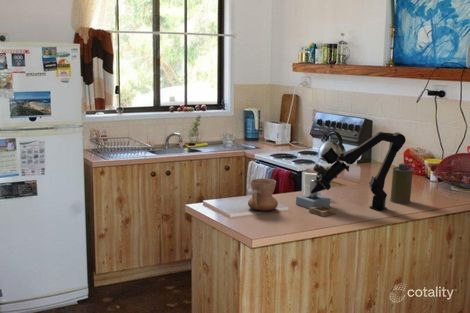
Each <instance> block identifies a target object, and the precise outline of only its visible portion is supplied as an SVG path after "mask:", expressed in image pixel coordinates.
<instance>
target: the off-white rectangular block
mask: <svg viewBox="0 0 470 313" xmlns="http://www.w3.org/2000/svg"><path fill="white" fill-rule="evenodd" d="M316 175H317V173H316V172H315V173H313V172H305V173H304V183H303V184H304V185H303V186H304V187H303V195H308V194H310V180H311V179H316ZM317 176H318V175H317ZM318 195H320V196H322V191H319V192H318Z"/></svg>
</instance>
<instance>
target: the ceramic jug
mask: <svg viewBox="0 0 470 313" xmlns="http://www.w3.org/2000/svg"><path fill="white" fill-rule="evenodd" d="M276 185H277V181H276V180H275V179H272V178H271V179H270V178H267V177H265V178H263V177H261V178H253V179H252V180H250V186H251V190H252V192H251V197H250V198H249V200H248V201H247V205H248V207H249V208H250V209H252V210H254V209H255V210H254V211H257V210H262V211H261V212H270V210H271V211H273V210H275V209H277V207H278V205H279V202H278V200H277V199H276V198H275V197H274V196H273V193H274V191H275V188H276Z"/></svg>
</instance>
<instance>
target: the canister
mask: <svg viewBox="0 0 470 313" xmlns="http://www.w3.org/2000/svg"><path fill="white" fill-rule="evenodd" d="M413 173H414V169H413V168H410V167H409V166H408V164H407V163H402V162H401V163H400V164H399V165H398V166H394V167H392V177H391V189H390V191H391V192H390V199H389V201H390V202H391V203H394V204H399V203H401V204H402V205H407V204H406V203H408V204H410V203H411V195H412V194H411V193H412V183H413ZM401 204H400V205H401Z"/></svg>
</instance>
